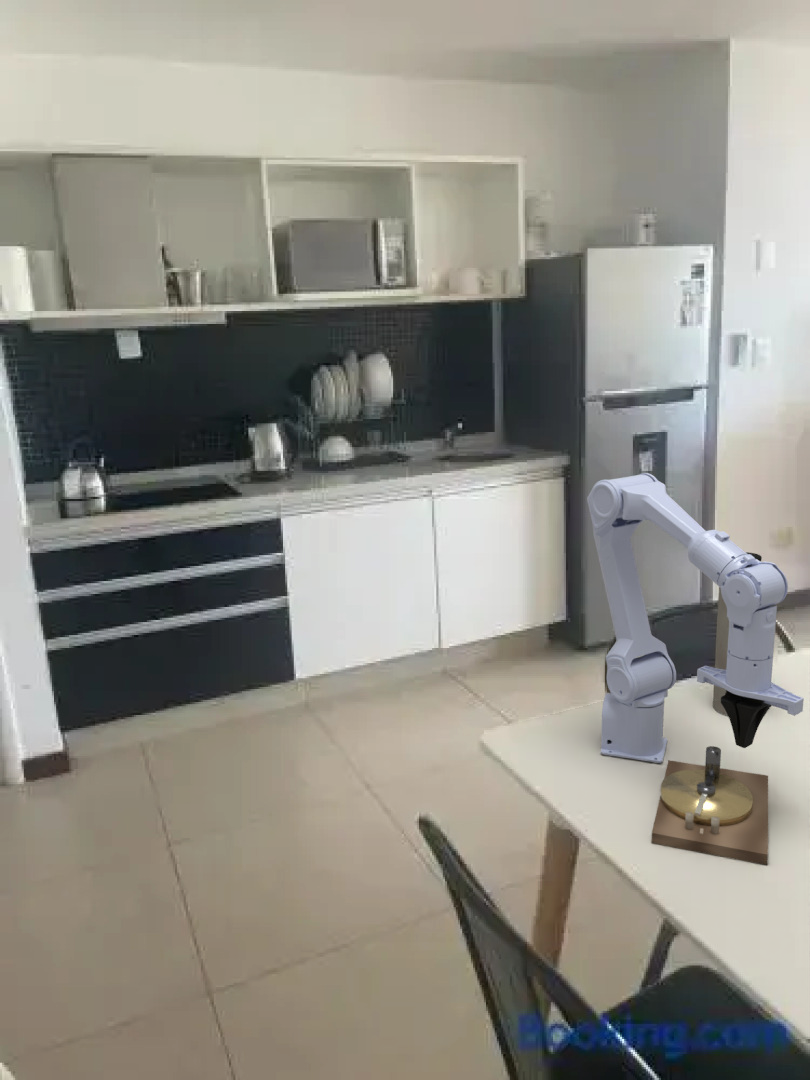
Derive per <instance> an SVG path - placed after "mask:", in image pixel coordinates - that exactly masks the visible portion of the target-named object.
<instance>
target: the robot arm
mask: <svg viewBox="0 0 810 1080" xmlns="http://www.w3.org/2000/svg"><path fill="white" fill-rule="evenodd" d="M666 486H667V485H666V484H664V483H663V482H661V481H659V480H658V479H657V478H656V476H654V475H653V474H651V473H650V472H649V473H648V472H642V473H639V474H637V475H636V474H635V475H631V476H630V475H629V476H624V477H619V478H612V479H611V478H610V479H601V480H599V481H597V482H595V483H594V485H593V487H592V489H591V490H590V492H589V494H588V496H587V497H586V501H587V506H588V511H589V515H590V519H591V523H592V533H593V539H594V543H595V548H596V553H597V557H598V561H599V566H600V570H601V575H602V576H601V577H602V581H603V585H604V590H605V594H606V598H607V604H608V609H609V612H610V616H611V622H612V625H613V630H614V631H613V632H614V636H615V639H616V641H615V643H614V644H613V646H612V647H611V648H610V650H609V651H608V653H607V654H606V656H605V661H606V665H607V669H606V685H607V688H608V691H609V692H605V695H604V697H603V698H604V699H603V702H602V710H601V738H600V741H601V744H600V745H601V746H600V748H601V749H600V754H601V755H604V756H609V757H610V756H611V757H618V758H623V759H631V760H637V761H642V762H643V761H644V762H649V763H655V764H656V763H657V764H662V763H663V760H664V757H665V753H666V749H667V748H666V747H667V745H668V738H667V737H664V720H665V719H664V718H665V717H664V715H665V698H667V697H668V696H669V695H668V694H669V690H670V689H672V688H673V687H674V685H675V684H676V681H677V671H676V668H675V667H676V666H675V664H674V662H673V660H672V659H671V657H670V656H669V654H668V653H669V652H668V649H667V645H666V643H664V642H663V641H662V640H660V639H658V638H657V637H655V636H653V635H652V631H651V626H650V621H649V617H648V612H647V608H646V603H645V599H644V595H643V590H642V587H641V586H642V585H641V581H640V580H641V579H640V576H639V572H638V571H639V570H638V568H637V567H638V566H637V563H636V559H635V558H636V557H635V555H634V549H633V544H632V541H631V537H632V535H633V534H634V532H635V531H636V530H637V528H638V526H639V525H640V524H642V523H643V522H644V521H649V522H652V523H653V524H654V525H655V526H657V527H658V528H659V529H661V530H662V531H664V533H666V535H669V536H670V537H671V538H673V539H674V540H676V541H677V542H678V543H679V544H681V545H682V546H684V548H686V549H687V557H688V561H689V562H690V563H691V564H692V565H693V566H694V567H696V569H698V570H699V571H701V572H702V573H703V574H704V575H705V576H706V577H707V578H709V579H710V580H711V581H712V582H713V583H714V584H716V585H717V586H718V588H719V587H720V588H721V594H722V598H723V600H724V602H725V604H726V606H727V617H728V618H729V635H728V651H727V667H726V670H723V669H717V668H715V667H713V666H709V665H704V666H702V667H699V668H697V671H696V682H697V683H700V684H710V685H713V686H714V685H715V686H718V687H721V688H724V689H726V693H725V695H724V696H722V697H721V704H722V705H723V707H724V709H725V711H726V713H727V715H728V716H727V717H728V720H729V721H730V725H731V728H732V732H733V737H734V741H735V746H738V747H741V748H743V749H747V748H748V747H750V746H751V745H753V742H754V740H755V736H756V734H757V730H758V729H759V726H760V724H761V722H762V721H763V719H764V717H765V715H766V714H767V713H768V711H769V709H770V708H771V707H776V708H778V709H781V710H784V711H787V714H788V715H792V716H794V717H795V716H797V715H799V714H801V713H802V712H804V710H803V709H804V697H802V696H799V695H797V694H794V693H793V692H791V691H789V690H787V689H785V688H783V687H781V686H780V685H778V684H776V683H774V682H772V676H773V666H774V665H773V663H774V652H775V641H776V640H775V636H776V625H777V624H776V622H777V611H778V610H777V609H778V605H777V604H780V603H781V602H783V601H784V600H785V599H786V596H787V594H788V591H789V584H788V583H789V582H788V579H787V576H786V575H785V573H784V572H783V571H782V569H781V568H780V567H778V566H779V565H777V564H776V563H774V562H772V561H762V560H761V561H759V560H757V559H755V558H754V557H753V556H752V555H751V554H747V553H746V551H744V550H743V549H742V548H741V547H740V546H738V544H736V543H735V542H734V541H732V540H731V539H730V537H731V536H730V535H729V534H728V533H727V532H726V531H724V530H722V531H720V530H718V529H709V530H706V529H704V528H703V527H702V526H701V525H700V524H699V523H698V522H697V521H696V520H695V519H694V518H693V517H692V516H691V515H689V513H687V511H686V510H684V508H682V507H681V506H680V505H679V504H678V503H677V502H676V501H675V500H674V499H673V498H671V496H670V495H668V492H667V487H666Z"/></svg>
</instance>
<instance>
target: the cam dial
mask: <svg viewBox="0 0 810 1080" xmlns="http://www.w3.org/2000/svg"><path fill="white" fill-rule="evenodd" d="M705 748H706V749H705V762H704V763H705V764H704V766H705V770H683V771H679V772H675V773H672V774H670V775H668V776H667V777H666V778H665V777H664V778H665V779H664V778H663V780H662V781H661V784H660V795H661V800H662V802H663V804H664V805H665V807H666V808H667V809H668V810H670V811H671V812H672V813H674V814H675V815H677V816H679V817H681V818H683V819H685V818H686V813H687V812H691V813H693V814H694V819H693V822H695V823H698V824H703V825H711V818H712V817H718V818H719V819H720V821H719V826H725V825H732V824H736V823H739V822H741V821H743V820H745V819H746V818H748V817H749V815H750V814H751V812H752V803H753V797H752V794H751V792H750V791H749V789H748V788H747V787H746V786H745V785H744V784H742V783H741V782H739V781H738V780H736V779H734V778H732V777H730V776H727V775H724V774H721V773H720V768H721V758H722V757H721V755H722V749H721V748H720V747H718V746H714V745H713V746H710V745H709V746H707V747H705Z"/></svg>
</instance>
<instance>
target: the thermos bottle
mask: <svg viewBox="0 0 810 1080" xmlns="http://www.w3.org/2000/svg"><path fill="white" fill-rule="evenodd" d="M745 552H746V551H745ZM746 553H747V554H751V555H752V556H753V557H754V558H755V559H757V560H759V561H761V562H762V558H763V557H762V555H760V554H759V553H754V552H746ZM717 598H718V599H717V617H716V619H717V620H716V639H715V659H714V661H715V663H714V668H717V669H723V670H726V667H727V651H728V635H729V618H728V617H727V606H726V604H725V602H724V600H723V598H722V594H721V588H720V587H719V586H718V597H717ZM712 692H713V695H712V707H713V709H714V710H715V711H716V712H717V713H719V714H722V715H724V716H726V717H728V715H727V713H726V711H725V709H724V707H723V705H722V704H721V697H722V696H724V695H725V693H726V689H724V688H721V687H718V686H715V685H713V691H712Z"/></svg>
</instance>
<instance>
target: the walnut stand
mask: <svg viewBox="0 0 810 1080" xmlns="http://www.w3.org/2000/svg"><path fill="white" fill-rule="evenodd" d="M666 764H667V765H666V769H665V774H664V778H663V780H664V779H665V778H666V777H667V776H668V775H670V774H672V773H675V772H679V771H683V770H705V765H701V764H695V763H688V762H681V761H675V760H667V763H666ZM720 773H721V774H724V775H727V776H730V777H732V778H734V779H736V780H738V781H739V782H741V783H742V784H744V785H745V786H746V787H747V788H748V789H749V791H750V792H751V794H752V797H753V803H752V812H751V814H750V815H749V817H748V818H746V819H745V820H743V821H741V822H739V823H736V824H732V825H725V826H719V821H720V819H719V818H718V817H712V818H711V825H703V824H698V823H695V822H693V819H694V814H693V813H691V812H687V813H686V818H685V819H683V818H681V817H679V816H677V815H675V814H674V813H672V812H671V811H670V810H668V809H667V808H666V807H665V805H664V804H663V802H662V800H661V794H660V795H659V800H658V805H657V810H656V814H655V818H654V822H653V828H652V831H651V844H656V845H661V846H666V847H671V848H675V849H676V848H677V849H681V850H686V851H693V852H697V853H703V854H707V855H713V856H718V857H723V858H729V859H734V860H738V861H744V862H749V863H753V864H760V865H764V866H768V859H769V856H768V855H769V775H767V774H766V775H765V774H760V773H754V772H753V773H752V772H747V771H741V770H740V771H739V770H735V769H727V768H721V767H720Z"/></svg>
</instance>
